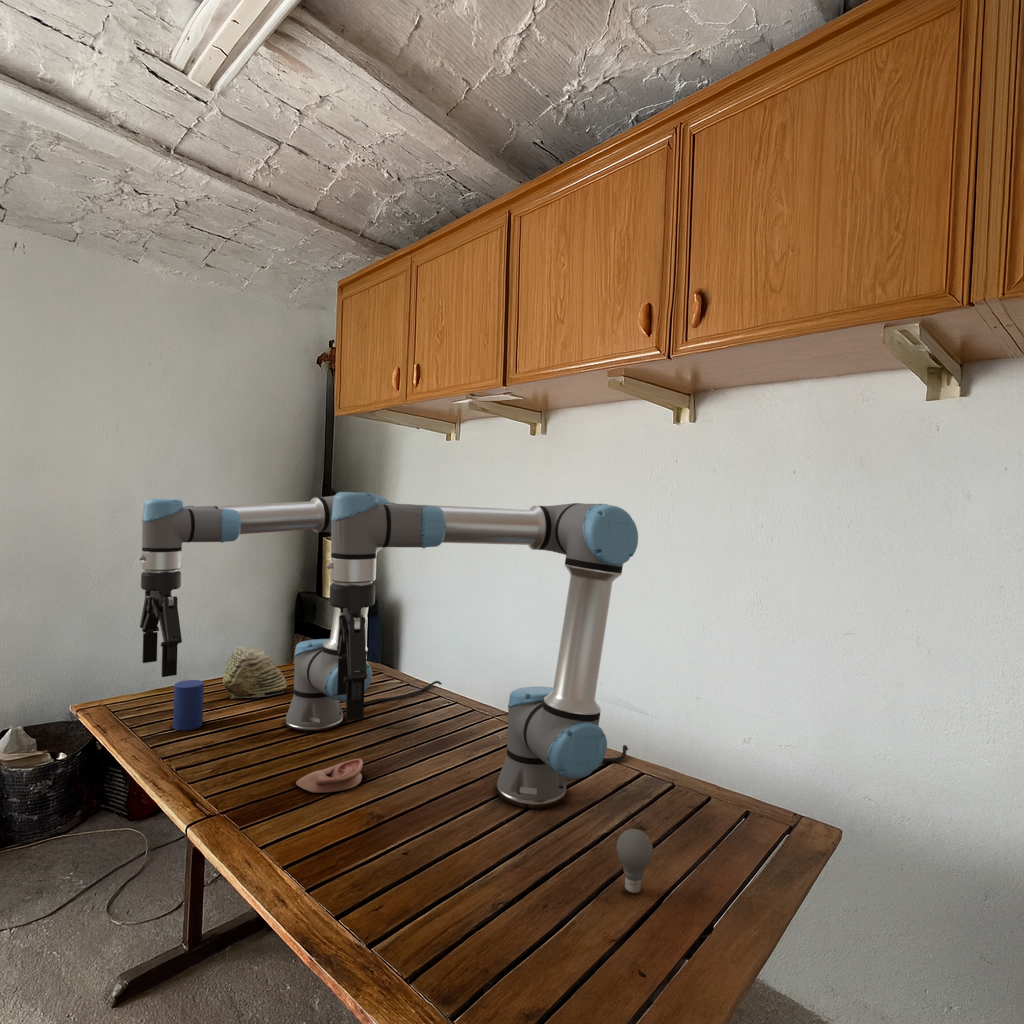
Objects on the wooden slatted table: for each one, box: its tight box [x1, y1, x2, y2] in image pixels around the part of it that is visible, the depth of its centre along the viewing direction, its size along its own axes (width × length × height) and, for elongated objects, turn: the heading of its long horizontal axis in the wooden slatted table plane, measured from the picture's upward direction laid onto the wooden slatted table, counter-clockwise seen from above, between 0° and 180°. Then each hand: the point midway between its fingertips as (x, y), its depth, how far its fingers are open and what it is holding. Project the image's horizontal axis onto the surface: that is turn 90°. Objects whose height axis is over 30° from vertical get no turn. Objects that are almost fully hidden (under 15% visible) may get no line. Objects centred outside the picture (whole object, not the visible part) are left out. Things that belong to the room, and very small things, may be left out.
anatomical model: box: [295, 758, 364, 794], centre depth 140 cm, size 13×4×12 cm
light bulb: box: [615, 828, 654, 894], centre depth 106 cm, size 6×6×10 cm
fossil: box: [222, 646, 288, 699], centre depth 198 cm, size 9×18×15 cm, turn 132°
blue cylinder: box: [172, 679, 205, 731], centre depth 170 cm, size 7×7×11 cm
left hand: (159, 668), depth 137 cm, fingers open, 13 cm apart
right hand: (349, 706), depth 108 cm, fingers open, 13 cm apart
